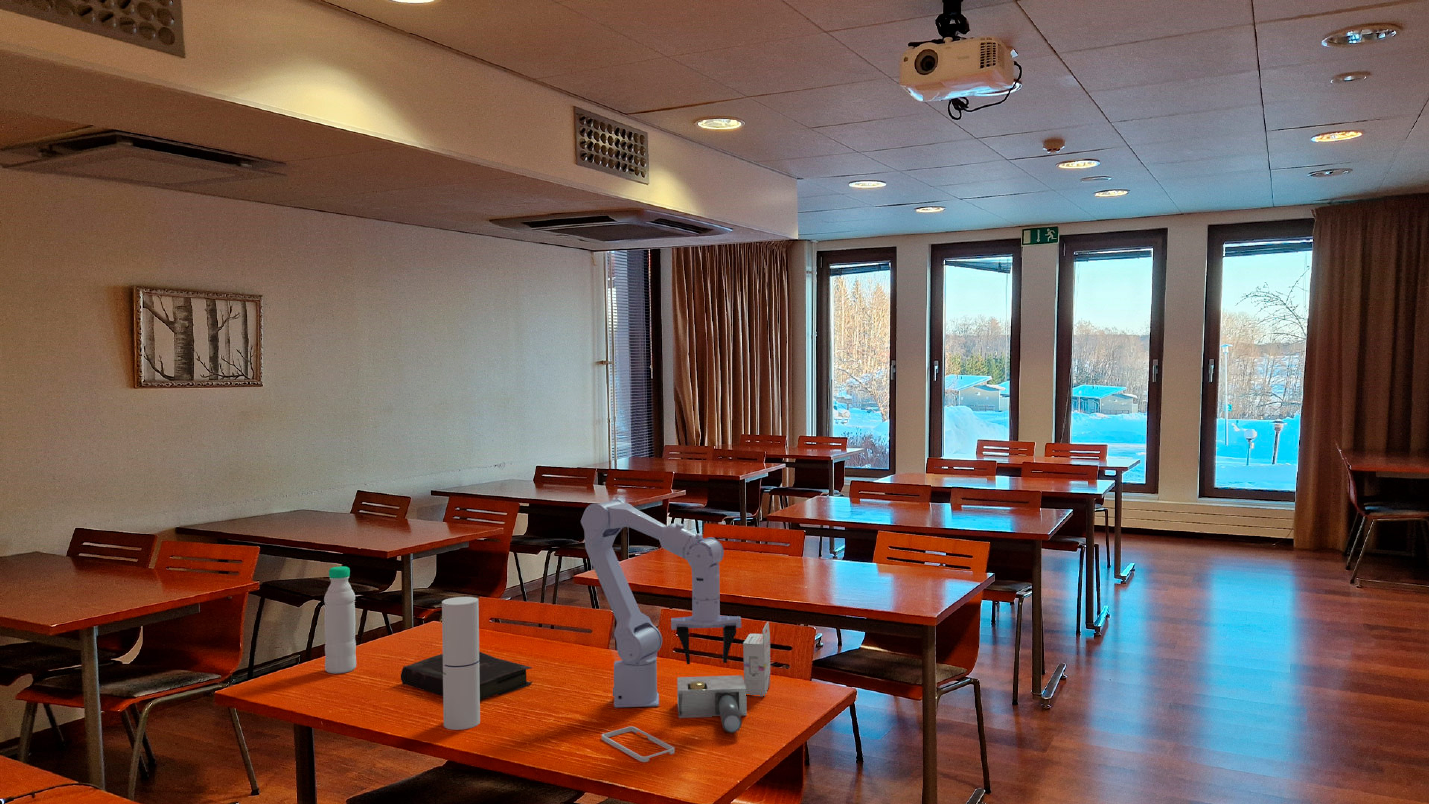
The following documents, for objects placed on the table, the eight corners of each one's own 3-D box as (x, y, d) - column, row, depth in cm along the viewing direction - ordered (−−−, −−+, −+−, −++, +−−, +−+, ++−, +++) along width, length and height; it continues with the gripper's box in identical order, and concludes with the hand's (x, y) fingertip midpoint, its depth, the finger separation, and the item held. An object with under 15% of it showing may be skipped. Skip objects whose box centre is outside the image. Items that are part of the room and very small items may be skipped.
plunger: (690, 694, 193) (690, 686, 193) (689, 690, 196) (689, 681, 196) (705, 694, 193) (704, 685, 193) (704, 689, 196) (704, 681, 196)
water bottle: (362, 668, 228) (361, 566, 228) (337, 676, 222) (335, 571, 222) (344, 664, 232) (342, 563, 232) (318, 671, 226) (317, 568, 226)
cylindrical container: (460, 732, 185) (459, 606, 185) (436, 725, 189) (434, 602, 188) (487, 721, 191) (485, 599, 191) (462, 715, 195) (461, 595, 195)
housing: (678, 717, 192) (678, 690, 192) (677, 703, 201) (677, 677, 201) (746, 715, 193) (746, 688, 193) (742, 701, 202) (742, 675, 202)
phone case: (600, 741, 181) (643, 765, 169) (600, 734, 181) (642, 758, 169) (632, 732, 185) (676, 755, 174) (632, 725, 185) (676, 747, 174)
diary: (469, 709, 201) (468, 686, 200) (400, 687, 216) (400, 666, 216) (535, 685, 215) (534, 663, 215) (466, 666, 231) (466, 646, 231)
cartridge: (722, 733, 181) (722, 714, 180) (717, 711, 193) (717, 693, 193) (742, 733, 181) (741, 713, 181) (736, 711, 193) (736, 693, 193)
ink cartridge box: (749, 684, 214) (748, 619, 214) (770, 685, 213) (770, 620, 213) (743, 696, 205) (742, 629, 205) (765, 697, 204) (764, 630, 204)
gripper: (671, 602, 190) (672, 669, 191) (742, 600, 191) (743, 666, 192) (670, 595, 197) (671, 659, 198) (739, 593, 198) (739, 657, 199)
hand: (706, 662), depth 195 cm, fingers open, 7 cm apart
